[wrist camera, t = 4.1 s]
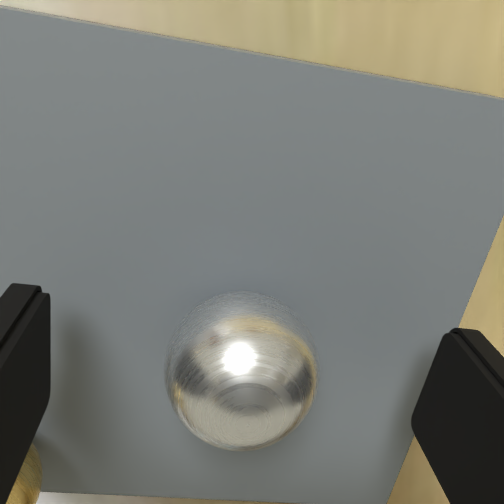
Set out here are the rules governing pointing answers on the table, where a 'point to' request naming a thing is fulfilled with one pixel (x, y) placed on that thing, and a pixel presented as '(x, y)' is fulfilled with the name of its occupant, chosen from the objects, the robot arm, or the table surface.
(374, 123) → the hole board
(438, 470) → the robot arm
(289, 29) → the table surface
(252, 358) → the ball
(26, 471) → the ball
